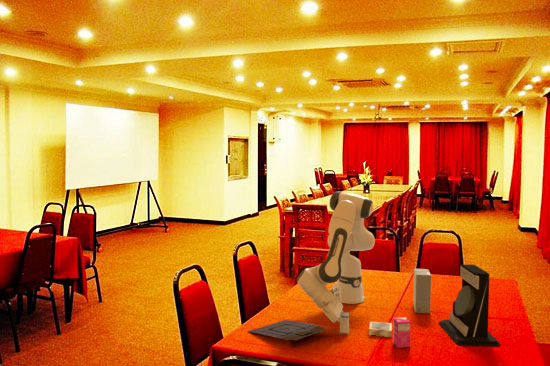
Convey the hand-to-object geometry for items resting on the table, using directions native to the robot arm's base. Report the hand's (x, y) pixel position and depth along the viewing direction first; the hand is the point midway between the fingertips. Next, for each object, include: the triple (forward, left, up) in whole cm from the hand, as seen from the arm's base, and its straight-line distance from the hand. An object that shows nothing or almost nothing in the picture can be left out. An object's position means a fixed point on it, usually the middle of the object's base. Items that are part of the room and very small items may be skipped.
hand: (345, 322), depth 229 cm
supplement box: (+24, +13, -5) cm, 27 cm away
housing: (0, 0, -5) cm, 5 cm away
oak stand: (+7, +15, -5) cm, 17 cm away
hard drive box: (-12, +56, -5) cm, 57 cm away
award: (+25, +50, -5) cm, 56 cm away
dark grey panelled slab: (-9, -24, -5) cm, 27 cm away
